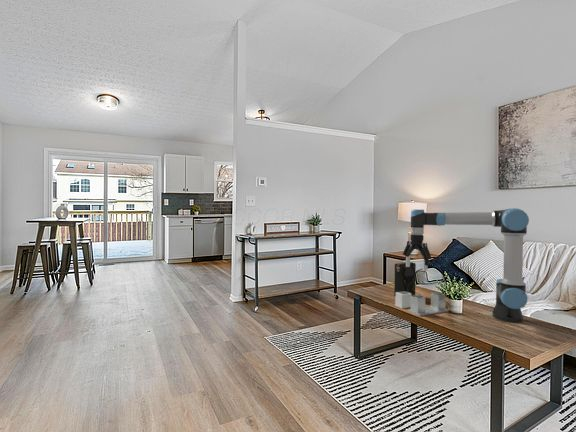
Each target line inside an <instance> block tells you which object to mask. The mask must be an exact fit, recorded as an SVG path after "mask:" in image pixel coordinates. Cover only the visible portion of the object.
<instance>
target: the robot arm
mask: <svg viewBox="0 0 576 432" xmlns="http://www.w3.org/2000/svg"><path fill="white" fill-rule="evenodd" d="M529 221H530V219H529V215H528V214H527V213H526V212H525V211H524V210H523V209H521V208H517V207H516V208H514V207H513V208H506V209H499V210H492V211H491V212H490V211H489V212H488V211H487V212H486V211H485V212H478V211H477V212H425V209H412V210H411V212H410V235H409V236H410V237H409V238H410V239H409V240H408V241H406V245H405V247H404V250H403V252H402V256H404V257H405V258H404V259H405V263H406V267H410V262H411V256H410V255H411V254H412V253H413V252H414V250H418V251H419V252H420V254H421V257H422V258H423V260H422V271H423V272H425V271H428V266H429V261H430V260H431V259H432V256H431V253H430V251H429V247H428V243H427V242H424V235H425V234H424V233H425V232H424V229H425V228H424V227H425V226H445V225H456V226H457V225H459V226H461V225H463V226H467V225H470V226H492V227H495V228H497V227H498V228H500V233H501V234H502V236H503V273H502V274H503V277H502V278H498V279H496V282H495V286H496V287H495V288H496V289H495V291H496V292H495V306H494V307H493V310H492V314H491V315H492V318H494V319H496V320H499V321H503V322H506V323H507V322H508V323H515V324H516V323H523V322H524V316H523V312H522V310H521V308H524V307H525V306H526V305H527V303H528V298H529V297H528V295H527V293H526V292H527V291H526V289H527V285H526V284H527V283H526V282H524V280H523V272H524V271H523V263H524V261H523V260H524V256H523V255H524V236H526V235H527V232H528V231H527V230H528V229H527V228H528V225H529Z"/></svg>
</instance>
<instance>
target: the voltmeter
mask: <svg viewBox="0 0 576 432" xmlns="http://www.w3.org/2000/svg"><path fill="white" fill-rule="evenodd" d="M416 266H417V265H416V262H413V261H412V262H411V261H410V267H406V262H398V263H394V291H393V292H394V293H393V295H394V297H395V294H396V292H402V291H405V292H409V293H412V294H411V296H413V295H415V294H416V275H417V274H416V271H417V270H416Z"/></svg>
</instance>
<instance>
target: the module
mask: <svg viewBox="0 0 576 432" xmlns="http://www.w3.org/2000/svg"><path fill="white" fill-rule="evenodd" d="M411 294H412V293H409V292H405V291H402V292H396V294H395V296H394V297H395V300H394V302H395V303H394V305H395V307H397V308H399V309H407V308H408V309H409V308H410V305H411Z"/></svg>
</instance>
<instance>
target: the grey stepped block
mask: <svg viewBox="0 0 576 432" xmlns="http://www.w3.org/2000/svg"><path fill="white" fill-rule="evenodd" d="M444 294H445V293H442V292H439V291H438V292H437V291H436V292H431V293H430V305H427V306H426V297H425V296H423V295H421V296H420V295H413V296H411V305H410V307H409V308H408V309H407V308H406V309H407V312H408V313H411V314H413V315H416V316H418V317H422V316H423V317H424V316H427V315H434V314H440V313H447V312H449V308H446V296H445V295H446V294H445V295H444Z"/></svg>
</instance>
